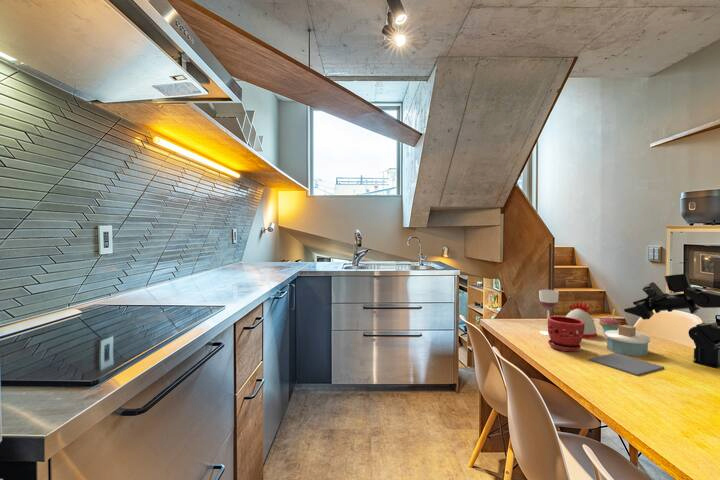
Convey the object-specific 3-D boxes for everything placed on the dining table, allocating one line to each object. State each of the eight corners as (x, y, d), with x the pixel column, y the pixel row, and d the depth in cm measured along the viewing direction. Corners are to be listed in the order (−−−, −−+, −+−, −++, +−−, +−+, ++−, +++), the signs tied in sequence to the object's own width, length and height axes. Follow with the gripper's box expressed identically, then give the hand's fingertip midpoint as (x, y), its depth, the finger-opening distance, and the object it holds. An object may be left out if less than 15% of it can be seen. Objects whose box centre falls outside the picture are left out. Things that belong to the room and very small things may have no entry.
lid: (658, 340, 140) (658, 329, 140) (636, 345, 134) (636, 333, 134) (618, 331, 153) (618, 320, 153) (596, 335, 147) (597, 324, 147)
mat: (664, 368, 125) (664, 366, 125) (636, 375, 118) (637, 374, 118) (615, 354, 139) (615, 352, 139) (588, 360, 133) (588, 358, 133)
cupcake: (614, 330, 174) (614, 305, 173) (625, 335, 165) (625, 309, 165) (595, 330, 174) (595, 305, 174) (605, 335, 166) (605, 309, 166)
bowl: (654, 353, 141) (655, 340, 141) (635, 357, 135) (635, 344, 135) (619, 343, 152) (619, 332, 152) (599, 347, 147) (600, 335, 147)
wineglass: (534, 332, 170) (534, 290, 170) (546, 330, 174) (547, 289, 173) (549, 336, 163) (550, 292, 163) (562, 334, 167) (562, 291, 166)
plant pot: (563, 354, 139) (563, 323, 139) (540, 344, 152) (540, 316, 152) (592, 352, 141) (592, 322, 141) (566, 342, 154) (567, 314, 154)
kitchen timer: (593, 339, 158) (594, 306, 158) (558, 334, 167) (559, 302, 167) (598, 333, 169) (598, 301, 169) (565, 328, 178) (565, 298, 178)
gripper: (672, 275, 144) (630, 282, 157) (655, 289, 134) (611, 295, 147) (685, 302, 143) (640, 306, 156) (668, 318, 133) (622, 321, 146)
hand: (628, 306), depth 151 cm, fingers open, 9 cm apart
